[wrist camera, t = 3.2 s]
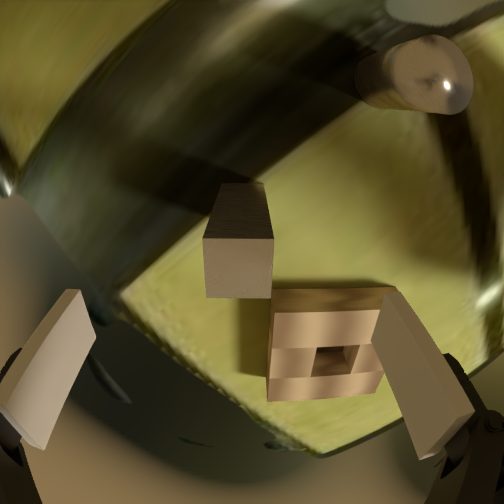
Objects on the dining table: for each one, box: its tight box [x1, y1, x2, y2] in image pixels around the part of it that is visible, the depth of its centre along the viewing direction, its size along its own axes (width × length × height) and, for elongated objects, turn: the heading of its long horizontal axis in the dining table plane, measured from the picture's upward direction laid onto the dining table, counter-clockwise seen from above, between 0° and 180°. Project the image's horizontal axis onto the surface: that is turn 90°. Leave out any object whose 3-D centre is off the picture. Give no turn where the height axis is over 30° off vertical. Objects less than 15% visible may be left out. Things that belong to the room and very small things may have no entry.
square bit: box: [202, 183, 274, 298], centre depth 21 cm, size 4×4×12 cm
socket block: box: [266, 287, 399, 402], centre depth 32 cm, size 14×14×4 cm
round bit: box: [354, 35, 474, 115], centre depth 17 cm, size 5×5×10 cm
